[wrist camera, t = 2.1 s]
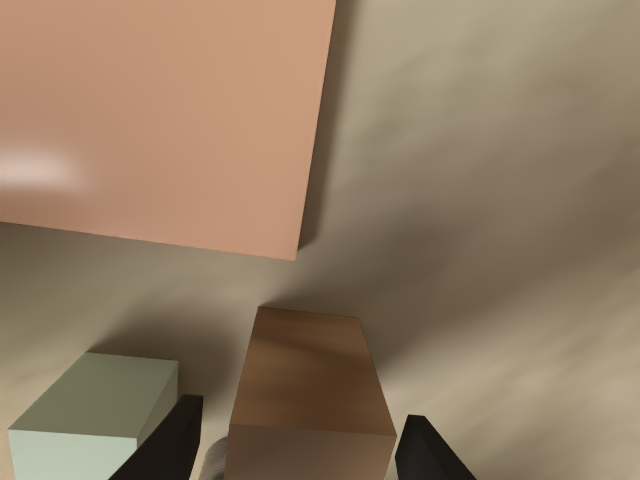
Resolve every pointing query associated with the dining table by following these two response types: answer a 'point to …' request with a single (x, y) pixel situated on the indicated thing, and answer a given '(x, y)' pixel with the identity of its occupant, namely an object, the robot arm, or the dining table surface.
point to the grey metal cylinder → (215, 461)
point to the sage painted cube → (93, 417)
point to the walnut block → (308, 403)
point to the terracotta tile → (162, 118)
